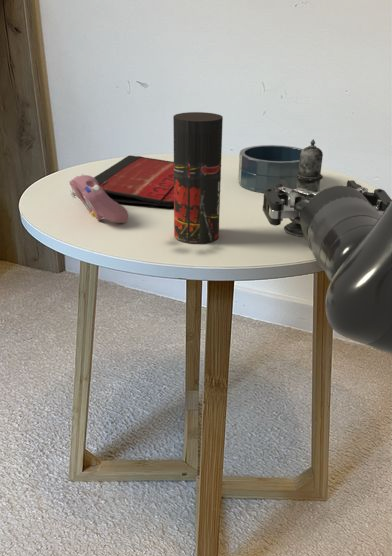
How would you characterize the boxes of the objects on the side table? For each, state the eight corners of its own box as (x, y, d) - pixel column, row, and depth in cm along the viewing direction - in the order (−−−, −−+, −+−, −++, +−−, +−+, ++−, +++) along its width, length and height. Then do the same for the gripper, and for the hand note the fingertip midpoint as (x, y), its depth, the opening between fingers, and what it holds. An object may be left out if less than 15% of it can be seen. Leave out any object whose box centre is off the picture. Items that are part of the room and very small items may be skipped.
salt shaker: (302, 219, 86) (311, 132, 79) (333, 231, 82) (346, 140, 76) (272, 228, 83) (280, 138, 76) (304, 240, 79) (314, 146, 72)
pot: (309, 176, 106) (312, 146, 103) (309, 196, 96) (313, 164, 93) (241, 172, 107) (243, 143, 105) (235, 191, 97) (236, 160, 94)
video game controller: (83, 216, 90) (58, 177, 85) (108, 200, 91) (84, 160, 86) (106, 238, 82) (80, 196, 78) (133, 219, 83) (108, 177, 79)
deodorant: (172, 228, 82) (171, 112, 74) (215, 227, 83) (218, 111, 75) (176, 244, 77) (175, 121, 69) (222, 242, 78) (226, 121, 70)
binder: (77, 184, 91) (127, 153, 108) (78, 199, 92) (127, 166, 109) (178, 199, 87) (213, 164, 105) (177, 214, 89) (212, 178, 106)
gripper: (421, 198, 60) (376, 157, 73) (279, 197, 59) (260, 156, 73) (406, 267, 64) (366, 217, 77) (273, 267, 63) (256, 216, 77)
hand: (315, 187), depth 75 cm, fingers open, 8 cm apart
